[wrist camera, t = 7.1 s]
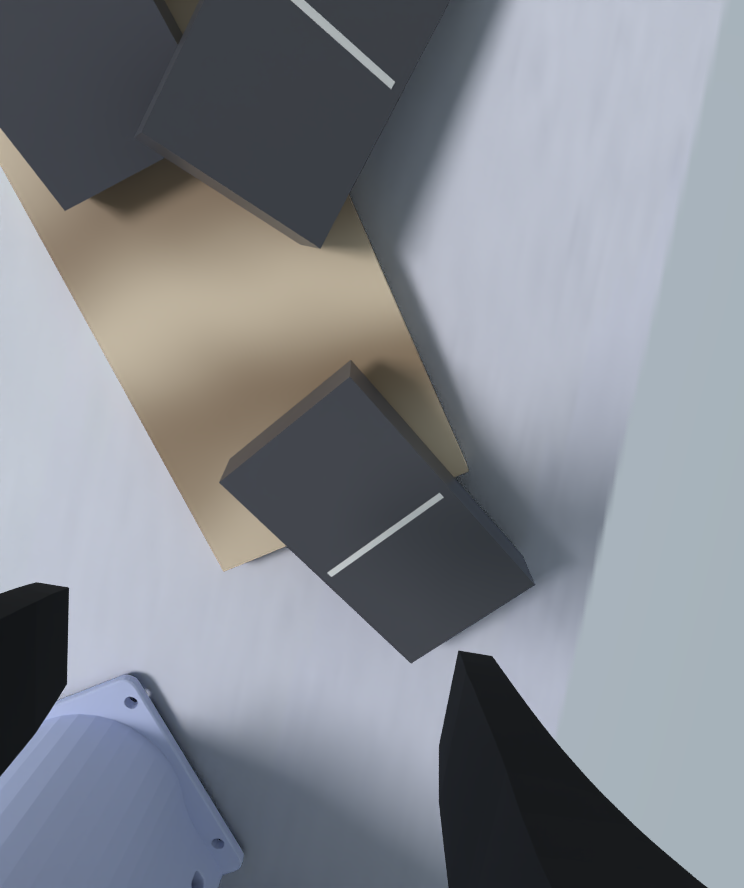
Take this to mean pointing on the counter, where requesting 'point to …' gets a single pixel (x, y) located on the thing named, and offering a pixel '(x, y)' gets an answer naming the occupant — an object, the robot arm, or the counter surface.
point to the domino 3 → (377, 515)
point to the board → (225, 323)
